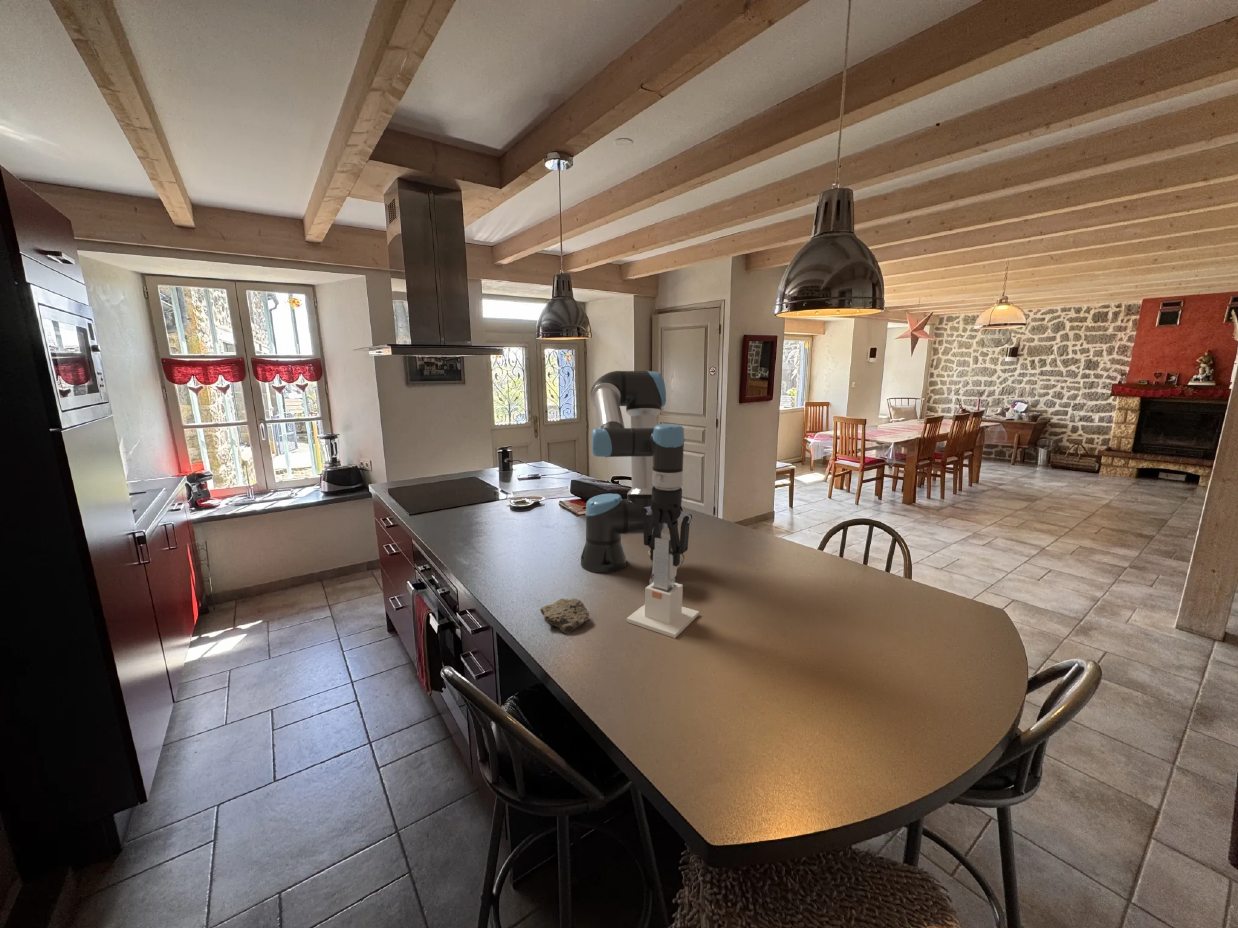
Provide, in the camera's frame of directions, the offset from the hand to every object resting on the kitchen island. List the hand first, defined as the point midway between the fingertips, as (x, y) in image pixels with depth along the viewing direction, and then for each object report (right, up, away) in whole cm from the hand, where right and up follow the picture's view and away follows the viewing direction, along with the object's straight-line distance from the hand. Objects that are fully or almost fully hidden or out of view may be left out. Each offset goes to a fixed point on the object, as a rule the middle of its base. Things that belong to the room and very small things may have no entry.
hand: (664, 574), depth 127 cm
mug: (+3, -8, +23) cm, 25 cm away
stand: (0, -12, +2) cm, 12 cm away
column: (0, -10, +2) cm, 10 cm away
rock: (-26, -13, +1) cm, 29 cm away
